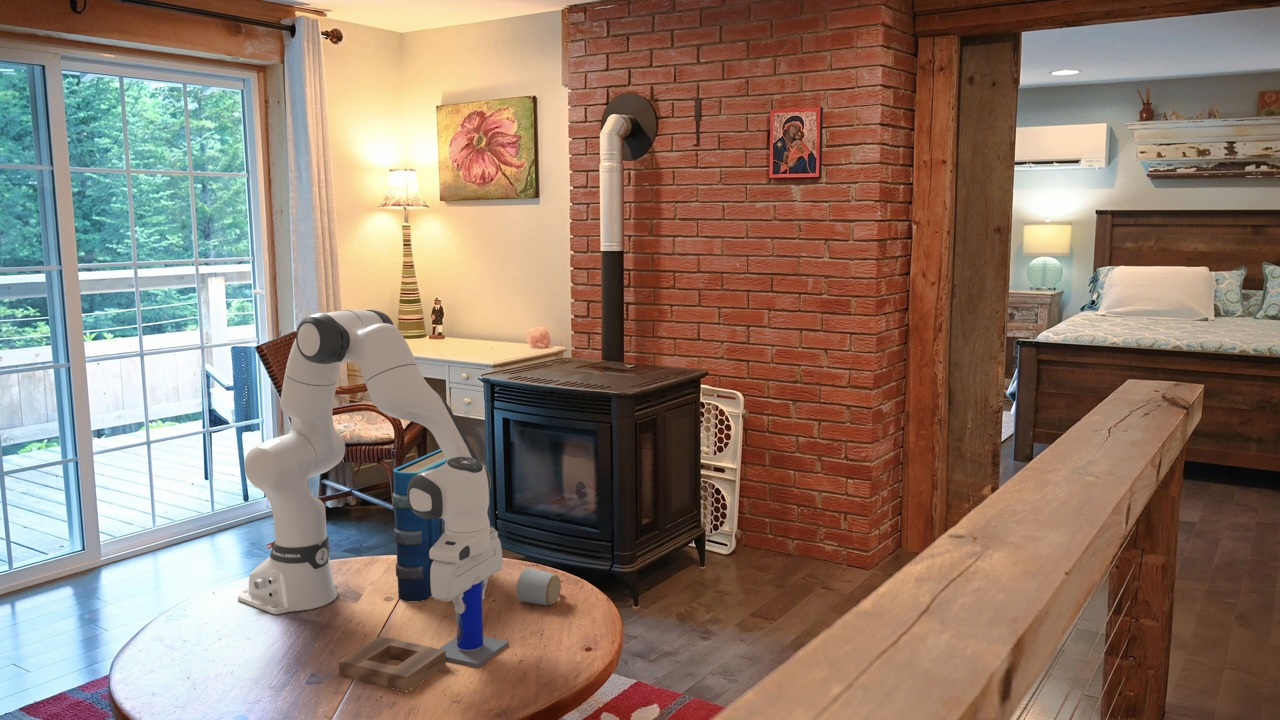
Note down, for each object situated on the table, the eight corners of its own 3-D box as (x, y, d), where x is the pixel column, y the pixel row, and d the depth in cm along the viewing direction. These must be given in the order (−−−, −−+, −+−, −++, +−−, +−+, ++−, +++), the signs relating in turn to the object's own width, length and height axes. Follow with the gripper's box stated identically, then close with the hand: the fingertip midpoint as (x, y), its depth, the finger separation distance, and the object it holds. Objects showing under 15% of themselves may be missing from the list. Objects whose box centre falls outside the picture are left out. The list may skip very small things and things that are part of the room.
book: (425, 605, 216) (421, 475, 211) (391, 600, 219) (386, 471, 214) (476, 569, 238) (474, 450, 234) (445, 565, 241) (442, 447, 237)
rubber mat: (431, 657, 190) (431, 653, 190) (463, 635, 200) (463, 631, 200) (478, 667, 186) (478, 663, 185) (508, 644, 195) (508, 641, 195)
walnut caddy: (339, 675, 182) (338, 660, 182) (380, 650, 193) (379, 636, 193) (407, 692, 176) (406, 677, 176) (446, 664, 187) (445, 650, 186)
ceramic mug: (548, 611, 212) (548, 578, 211) (516, 606, 215) (515, 573, 214) (568, 594, 222) (568, 563, 221) (536, 590, 225) (536, 558, 224)
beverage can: (458, 642, 195) (455, 571, 193) (483, 640, 196) (481, 570, 193) (456, 653, 190) (454, 581, 188) (482, 652, 190) (481, 580, 188)
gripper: (483, 522, 200) (485, 585, 202) (423, 553, 182) (426, 622, 183) (509, 526, 197) (510, 590, 199) (451, 558, 179) (453, 628, 181)
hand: (469, 606), depth 191 cm, fingers closed on beverage can, 5 cm apart
